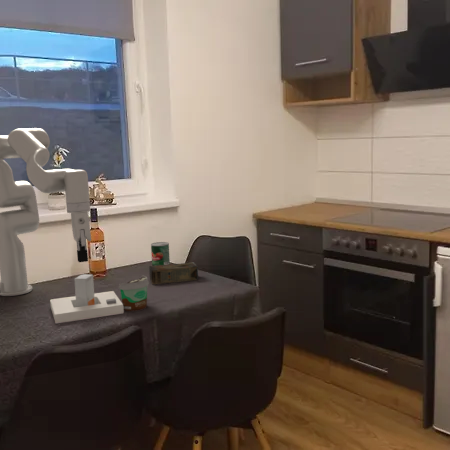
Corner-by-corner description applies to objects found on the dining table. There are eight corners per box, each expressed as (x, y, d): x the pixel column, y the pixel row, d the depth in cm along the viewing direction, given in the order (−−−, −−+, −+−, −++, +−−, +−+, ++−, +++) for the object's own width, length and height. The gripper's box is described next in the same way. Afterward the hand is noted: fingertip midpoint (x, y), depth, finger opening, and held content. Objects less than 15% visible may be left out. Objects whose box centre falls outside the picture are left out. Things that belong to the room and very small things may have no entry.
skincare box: (88, 313, 185) (85, 278, 183) (76, 313, 186) (73, 278, 184) (95, 307, 191) (93, 274, 189) (84, 307, 192) (81, 273, 190)
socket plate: (55, 323, 176) (54, 311, 175) (50, 307, 193) (49, 296, 192) (123, 313, 184) (123, 301, 183) (113, 298, 201) (112, 288, 200)
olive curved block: (199, 280, 222) (198, 264, 221) (151, 285, 217) (150, 269, 216) (194, 275, 230) (194, 260, 229) (148, 280, 225) (148, 265, 224)
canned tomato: (149, 270, 241) (148, 245, 240) (155, 265, 249) (153, 241, 247) (167, 270, 240) (166, 245, 238) (172, 265, 248) (170, 241, 246)
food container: (134, 314, 182) (132, 285, 181) (120, 312, 185) (118, 283, 184) (157, 304, 192) (156, 276, 191) (144, 302, 196) (142, 274, 194)
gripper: (93, 208, 177) (97, 264, 180) (86, 204, 191) (90, 255, 194) (69, 210, 174) (74, 267, 177) (64, 206, 188) (69, 258, 191)
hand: (82, 261), depth 185 cm, fingers closed
